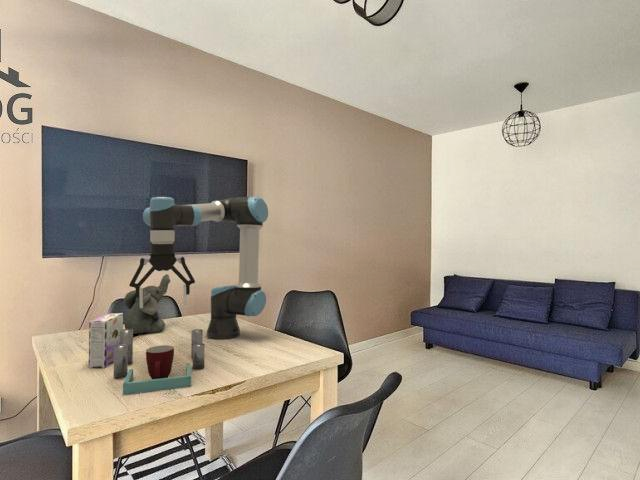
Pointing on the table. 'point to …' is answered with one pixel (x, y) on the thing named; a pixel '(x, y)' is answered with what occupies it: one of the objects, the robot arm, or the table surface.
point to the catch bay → (155, 383)
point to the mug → (159, 361)
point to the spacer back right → (127, 342)
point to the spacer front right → (120, 361)
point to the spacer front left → (198, 356)
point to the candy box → (104, 339)
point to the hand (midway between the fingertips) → (163, 305)
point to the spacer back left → (196, 337)
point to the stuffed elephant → (146, 308)
